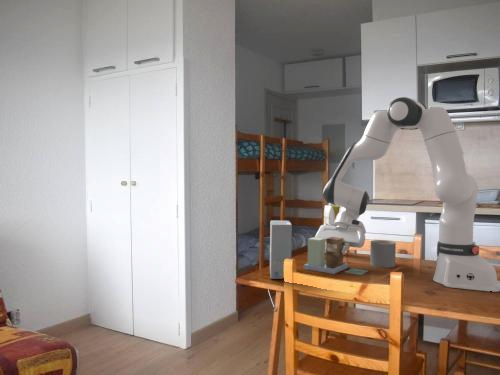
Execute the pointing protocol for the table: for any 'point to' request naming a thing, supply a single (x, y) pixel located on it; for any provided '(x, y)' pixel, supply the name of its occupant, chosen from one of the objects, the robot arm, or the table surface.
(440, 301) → the table surface
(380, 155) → the robot arm
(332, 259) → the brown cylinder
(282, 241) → the hard drive box
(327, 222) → the juice carton
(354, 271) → the felt pad
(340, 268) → the parts tray
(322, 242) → the sage box
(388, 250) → the coffee mug
